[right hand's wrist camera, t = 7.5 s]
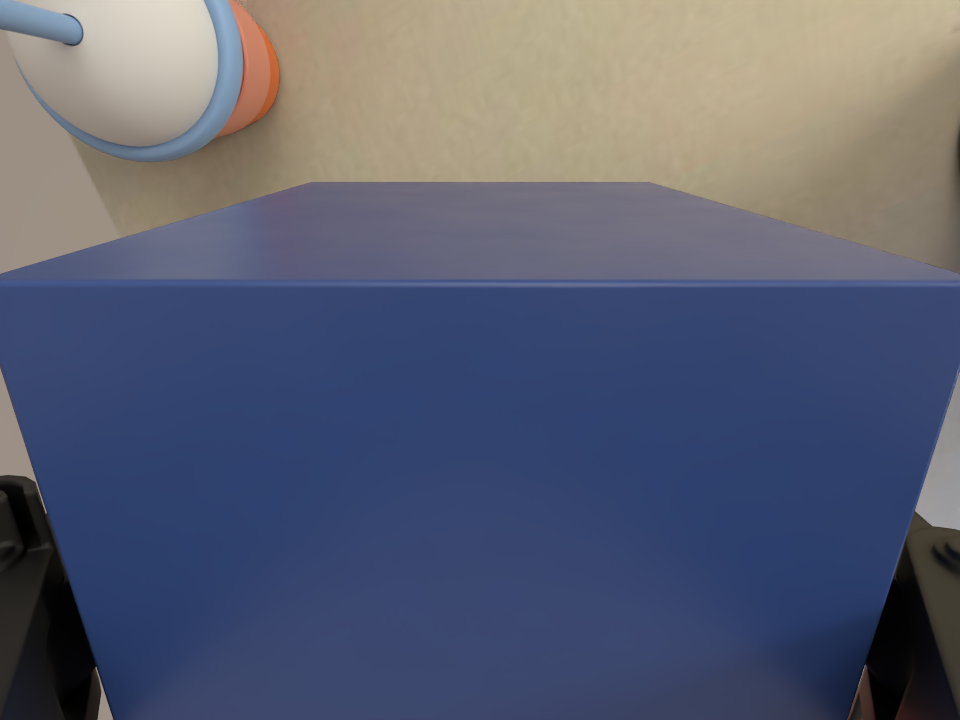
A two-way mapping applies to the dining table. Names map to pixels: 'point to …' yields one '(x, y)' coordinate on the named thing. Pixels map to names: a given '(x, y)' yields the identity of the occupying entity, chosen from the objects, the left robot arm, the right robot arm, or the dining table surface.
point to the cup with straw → (144, 70)
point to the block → (480, 452)
